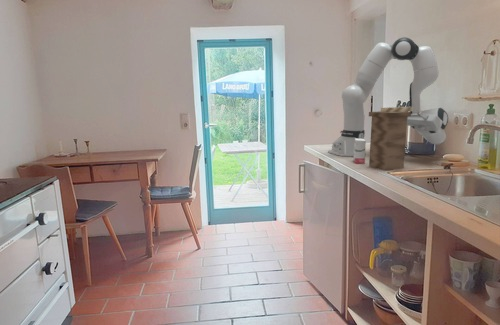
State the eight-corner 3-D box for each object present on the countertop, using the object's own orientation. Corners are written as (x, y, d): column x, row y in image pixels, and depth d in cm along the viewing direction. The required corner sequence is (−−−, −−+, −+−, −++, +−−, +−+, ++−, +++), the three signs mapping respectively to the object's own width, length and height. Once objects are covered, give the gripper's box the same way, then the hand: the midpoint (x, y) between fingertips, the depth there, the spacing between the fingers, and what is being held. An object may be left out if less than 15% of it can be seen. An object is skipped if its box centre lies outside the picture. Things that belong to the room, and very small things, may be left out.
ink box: (364, 163, 175) (366, 140, 173) (354, 163, 176) (355, 140, 174) (363, 160, 183) (364, 138, 181) (353, 160, 184) (354, 138, 182)
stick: (384, 112, 158) (384, 107, 158) (380, 112, 160) (380, 107, 159) (412, 111, 168) (412, 106, 167) (408, 110, 170) (409, 106, 169)
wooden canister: (365, 166, 168) (368, 111, 163) (385, 163, 175) (389, 111, 170) (386, 171, 158) (390, 112, 153) (406, 167, 165) (411, 111, 160)
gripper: (408, 118, 185) (394, 105, 178) (446, 121, 168) (432, 107, 161) (403, 129, 185) (389, 116, 177) (441, 133, 167) (427, 119, 160)
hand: (410, 112), depth 169 cm, fingers open, 8 cm apart
